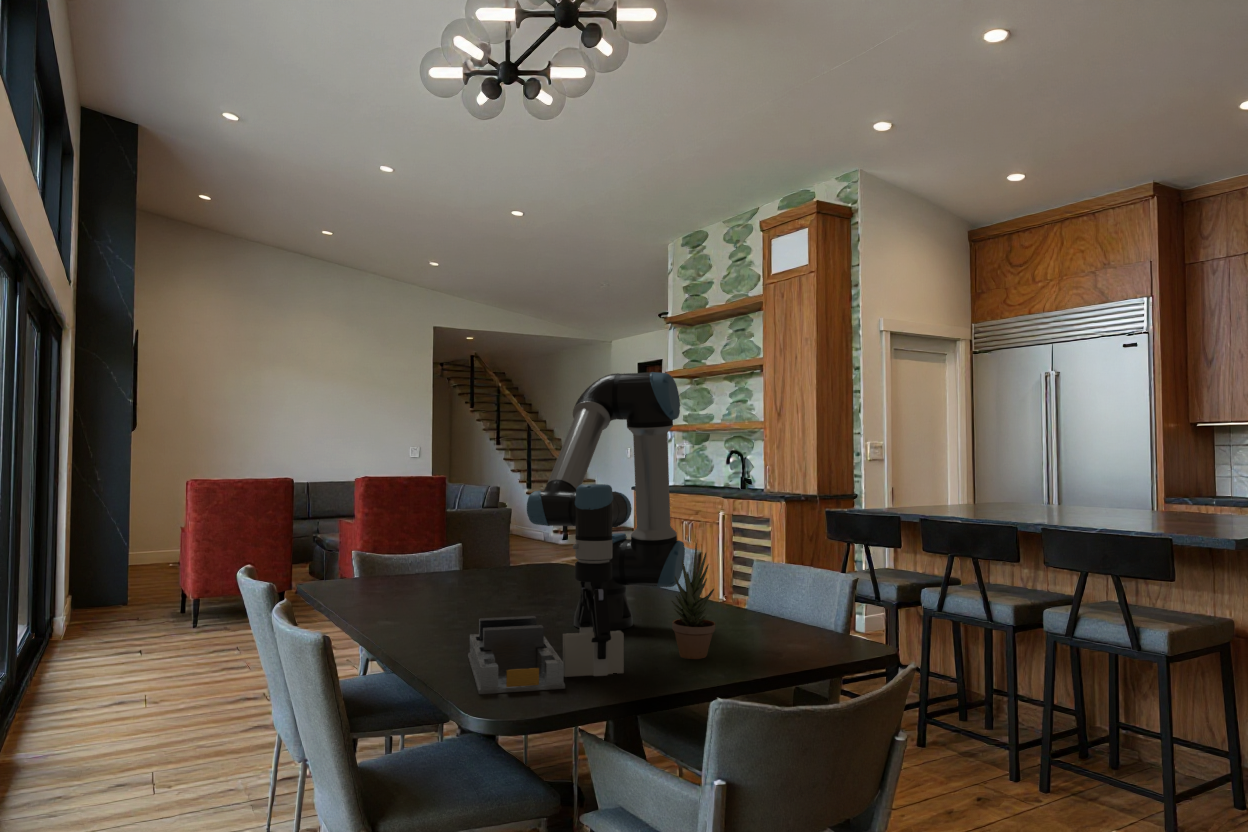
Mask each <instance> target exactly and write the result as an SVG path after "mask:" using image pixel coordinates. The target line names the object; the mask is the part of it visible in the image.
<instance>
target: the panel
mask: <svg viewBox="0 0 1248 832" xmlns="http://www.w3.org/2000/svg"><path fill="white" fill-rule="evenodd" d="M610 634H611V640H608V675H614V674H613V673H617V674H624V673H625V672H624V670H625V669H624V668H625V667H624V665H625V664H624V662H625V661H624V659H625V658H624V654H625V653H624V650H625V649H624V647H625V646H624V645H625V643H624V642H625V641H624V638H625V637H624V635H625V634H624V632H623V631H622V630H610ZM592 638H595V636H594V631H593V632H587V633H580V632H574V633H573V632H571V633H562V661H563V663H564V675H563V677H565V678H567V677H569V678H570V677H585V676H593V642H591V641H592Z"/></svg>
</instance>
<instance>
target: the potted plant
mask: <svg viewBox="0 0 1248 832" xmlns="http://www.w3.org/2000/svg"><path fill="white" fill-rule="evenodd" d="M697 546H698V544H697V542H695V546H694V558H693V559H694V560H693V568H692V569H693V571H692V577H691V578H692V579H690V575H689V571H687V570H686V566H685V562H684V563H683V560H682V568H683V570H682V573H683V578H684V585H685V589H684V588H683V586H681V584H680V582H679V581H678V580H677V579H676V577H675V580H676V583H677V584H676V586H677V587H678V590H679V593H678V596H677V595H675V597H676V598H675V599H676V601H677V602H678V603H679V605H680V606H679V605H678V604H676V603H675V602H674V601H673V600H671V603H672V604H673V605H674V606H675V607H676V608H677V609H678V610H677V609H676V608H674V609H673V610H674V611H675V612H676V613H677V614H678V615H679V617H681V618H676V619H674V620H672V622H671V625H672V627H671V629H672V631H674V635H675V640H676V644H677V649H678V653H679V657H680V658H683V659H686V660H687V659H688V660H701V659H704V658H706V657H707V656H708V653H709V652H708V651H709V648H710V646H711V645H710V644H711V641H712V638H713V634H714V632H715V631H716V622H715V621H713V620H709V619H706V617H707V614H705V615H704V613H705V611H706V609H707V608H706V607H705V606H706V604H707V603H708V601H709V600H710V598H711V596H712V594H713V593H714V591H715V588H712V589H711V590H710V592H709V593H708V594H707V595H706V596H705V597H702V598H701V595H702V593H703V590H704V589H705V586H706V584H707V581H708V578H707V577H706V575H707V574H708V573H707V572H708V568H709V564H710V563H707V565H706V567H705V569H704V566H705V563H706V559H707V552H704V556H703V558H702V561H701V564H700V566H699V569H698V571H697V565H698V564H697V563H698V562H697V560H698V549H697V548H698V547H697ZM705 577H706V578H705ZM700 598H701V599H700ZM703 615H704V616H703Z"/></svg>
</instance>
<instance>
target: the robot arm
mask: <svg viewBox="0 0 1248 832" xmlns="http://www.w3.org/2000/svg"><path fill="white" fill-rule="evenodd" d="M680 408H681V400H680V394H679V390H678V386H677V384H676V381H675V379H674V378H673V376H672V375H670V374H669V373H667V372H654V371H651V372H634V373H633V372H632V373H618V372H617V373H610V374H607V375H605V376H603V377H600V378H598V379H597V380H596V381H594V382H593V383H592V384H590V385H589V386H588V387H587V388H586V389H584V391H583V393H582V394H581V395H580V396H579V398H578V399H577V401H576V403H575V405H574V408H573V409H572V418H573V420H572V422H571V426H570V427H569V430H568V432H567V434H566V437H565V440H564V441H563V445H562V447H561V449H560V452H559V454H558V456H557V459H556V461H555V464H554V466H553V469H552V471H551V473H550V476H549V478H548V481H547V483H546V485H545V487H544V489H543V490H535V491H532V493H530V494H529V496H528V498H527V501H526V514H527V516H528V520H529V521H530V523H531V524H533V525H537V526H546V527H552V526H553V527H554V526H555V527H560V526H561V527H575V537H574V538H575V544H572V549H573V550H574V551H575V553H574V554H575V557H574V558H575V559H576V560H577V561H576V562H575V563H574V579H575V580H576V581H578V582H579V583H580V593H579V600H578V603H577V606H576V610H575V612H574V617H573V626H574V627H576V628H578V629H579V633H587V632H594V636H595V638H592V641H591V642H593V675H592V676H593V677H604V676H609V674H608V640H611V634H610V631H621V630H624V629H628V628H631V627H633V626H634V624H633V623H634V622H633V621H634V619H633V614H632V610H631V606H630V604H629V603H630V602H629V601H628V597H627V586H631V587H632V586H634V587H636V586H637V587H652V588H653V587H654V588H673V587H675V586H677V583H676V580H675V577H676V579H677V580H678V582H679V581H680V579H681V576H682V573H683V568H682V560H683V563H684V564H685V557H686V556H685V555H686V554H685V553H686V552H685V551H686V548H685V543H684V541H682V540H678V533H677V531H676V530H674V528H672V526H671V507H670V506H671V505H670V504H671V503H670V475H669V474H670V473H669V470H670V468H669V441H668V440H669V439H668V432H669V431H670V430H671V429H672V427H674V421H675V420H676V419H678V418H679V416H680V413H681V410H680ZM615 420H618V421H619V420H621V421H623V420H626V428H627V429H628V430H629V432H631V433H632V437H633V463H634V466H633V467H634V486H635V488H634V489H635V493H634V494H635V511H636V512H635V514H636V517H635V518H636V527H635V529H634V530H633V531H632V532H631V534H630V539H628V537H627V535H626V533H625V532H623V533H622V532H618V533H613V528H617V527H620V526H621V525H623V524H625V523H626V522H627V521H628V520H629V518H630V516H631V515H632V504H631V501H630V499H629V497H627V496H626V494H624V493H622V492H619V491H616V490H615V491H613V488H612V486H611V485H610V484H607V483H606V484H605V483H604V484H600V483H599V484H597V483H593V484H592V483H591V484H588V483H587V484H584V483H583V482H584V480H585V478H586V475H587V472H588V470H589V467H590V464H591V462H592V459H593V456H594V454H595V451H596V448H597V446H598V443H599V440H600V438H601V435H602V432H603V431H604V430H606V429H607V428H608V427H609V426H610V423H611V421H615Z"/></svg>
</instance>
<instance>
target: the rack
mask: <svg viewBox="0 0 1248 832" xmlns="http://www.w3.org/2000/svg"><path fill="white" fill-rule="evenodd" d="M537 620H538V618H537V617H536V616H535V615H526V616H525V615H523V616H520V615H519V616H502V617H484V618H483V617H481V618H478V634H475V633H473V634H472V633H469V652H467V653H468V654H467V656H468V660H469V664H470V668H471V671H472V675H473V678H474V682H475V685H476V689H477V692H478V695H490V694H491V695H492V694H504V693H519V692H533V691H534V692H535V691H548V690H549V691H550V690H562V689H566V683H565V682H564V663H563V659H561V657H560V656H559V655H558V653H557V652H556V651H555V649H554V648H553V646H552V645H551V644H550V642H549V640H548V639H547V637H546V636H545V635H544V634H545V626H543V625H542V624H537Z"/></svg>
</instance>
